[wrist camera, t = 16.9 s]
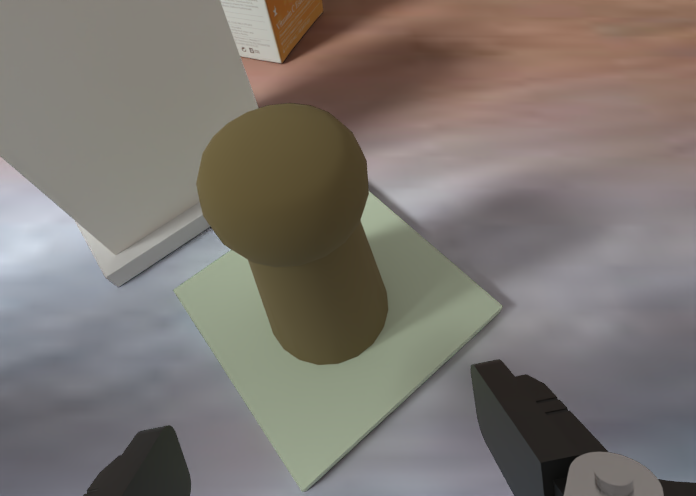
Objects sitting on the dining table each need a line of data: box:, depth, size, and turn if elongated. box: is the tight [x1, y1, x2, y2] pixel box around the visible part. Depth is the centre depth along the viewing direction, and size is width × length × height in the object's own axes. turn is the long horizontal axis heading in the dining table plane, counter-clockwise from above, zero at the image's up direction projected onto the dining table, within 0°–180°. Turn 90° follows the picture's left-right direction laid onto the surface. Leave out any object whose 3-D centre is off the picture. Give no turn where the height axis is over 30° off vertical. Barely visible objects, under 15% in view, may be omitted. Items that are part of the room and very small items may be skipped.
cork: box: [196, 103, 388, 365], centre depth 16 cm, size 6×6×11 cm
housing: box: [0, 0, 258, 287], centre depth 21 cm, size 13×9×15 cm
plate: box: [173, 192, 503, 492], centre depth 21 cm, size 12×12×1 cm
